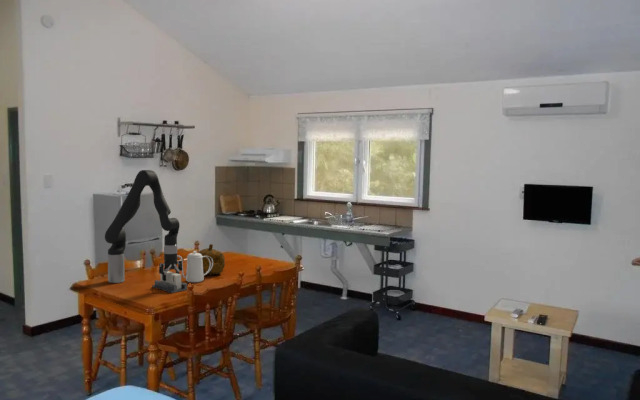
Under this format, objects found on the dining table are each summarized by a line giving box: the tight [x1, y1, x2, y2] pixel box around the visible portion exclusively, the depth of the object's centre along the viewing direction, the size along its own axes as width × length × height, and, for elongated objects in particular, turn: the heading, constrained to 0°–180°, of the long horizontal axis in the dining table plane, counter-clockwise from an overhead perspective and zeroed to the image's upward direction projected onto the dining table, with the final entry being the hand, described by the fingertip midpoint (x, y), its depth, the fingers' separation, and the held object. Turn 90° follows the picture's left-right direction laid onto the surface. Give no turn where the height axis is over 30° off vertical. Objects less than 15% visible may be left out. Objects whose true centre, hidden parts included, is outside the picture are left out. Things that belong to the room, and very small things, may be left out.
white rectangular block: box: [160, 270, 182, 289], centre depth 305 cm, size 16×4×8 cm, turn 49°
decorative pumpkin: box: [197, 243, 226, 276], centre depth 344 cm, size 20×21×20 cm
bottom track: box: [152, 279, 189, 294], centre depth 305 cm, size 20×12×4 cm, turn 50°
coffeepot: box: [177, 250, 213, 283], centre depth 323 cm, size 11×25×19 cm, turn 126°
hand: (170, 279), depth 305 cm, fingers open, 8 cm apart
